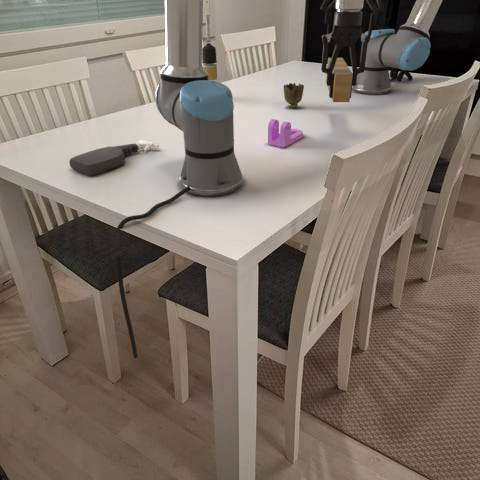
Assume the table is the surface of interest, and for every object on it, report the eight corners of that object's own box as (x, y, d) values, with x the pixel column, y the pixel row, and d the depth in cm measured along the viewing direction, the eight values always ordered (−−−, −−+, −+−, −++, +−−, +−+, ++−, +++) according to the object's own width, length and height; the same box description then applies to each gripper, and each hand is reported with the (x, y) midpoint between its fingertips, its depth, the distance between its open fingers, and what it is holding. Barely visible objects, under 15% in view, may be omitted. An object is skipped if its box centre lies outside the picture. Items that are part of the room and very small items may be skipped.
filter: (220, 99, 177) (217, 15, 161) (206, 100, 176) (202, 16, 160) (215, 96, 182) (212, 14, 166) (202, 97, 180) (197, 14, 164)
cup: (279, 108, 165) (280, 86, 160) (287, 103, 170) (288, 82, 166) (298, 111, 162) (299, 88, 157) (305, 105, 167) (307, 83, 163)
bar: (349, 102, 131) (352, 74, 127) (333, 102, 131) (335, 74, 127) (340, 82, 152) (342, 57, 148) (326, 82, 153) (328, 57, 148)
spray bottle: (67, 168, 120) (139, 144, 136) (91, 178, 114) (163, 151, 130) (65, 157, 118) (137, 134, 134) (89, 167, 112) (162, 142, 128)
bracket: (283, 147, 130) (284, 124, 126) (267, 143, 133) (268, 120, 129) (305, 135, 139) (307, 113, 135) (290, 132, 142) (291, 110, 138)
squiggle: (400, 92, 202) (376, 71, 205) (417, 76, 202) (392, 56, 205) (405, 81, 191) (380, 59, 194) (423, 64, 191) (397, 42, 194)
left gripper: (379, 8, 125) (368, 93, 137) (314, 9, 126) (309, 93, 138) (384, 11, 118) (372, 100, 131) (316, 11, 120) (310, 100, 132)
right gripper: (396, -39, 140) (384, 34, 151) (317, -40, 142) (310, 33, 153) (401, -40, 134) (388, 37, 145) (318, -41, 136) (311, 35, 147)
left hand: (339, 96), depth 134 cm, fingers closed on bar, 5 cm apart
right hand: (348, 35), depth 149 cm, fingers open, 13 cm apart
